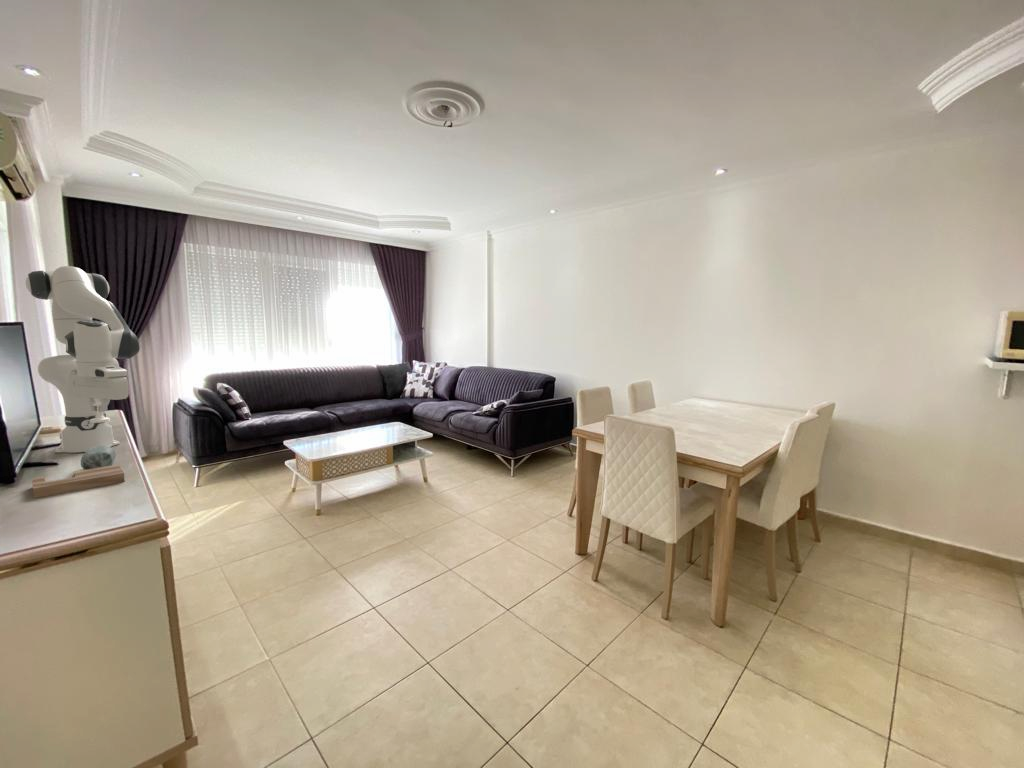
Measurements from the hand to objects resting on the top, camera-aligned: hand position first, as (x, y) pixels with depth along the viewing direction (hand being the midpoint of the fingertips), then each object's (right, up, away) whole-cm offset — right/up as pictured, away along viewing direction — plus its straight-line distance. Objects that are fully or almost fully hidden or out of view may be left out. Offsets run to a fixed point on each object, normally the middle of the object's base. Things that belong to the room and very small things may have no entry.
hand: (99, 411), depth 140 cm
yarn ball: (-10, -22, +10) cm, 26 cm away
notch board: (-2, -24, -4) cm, 24 cm away
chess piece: (0, -4, 0) cm, 4 cm away
